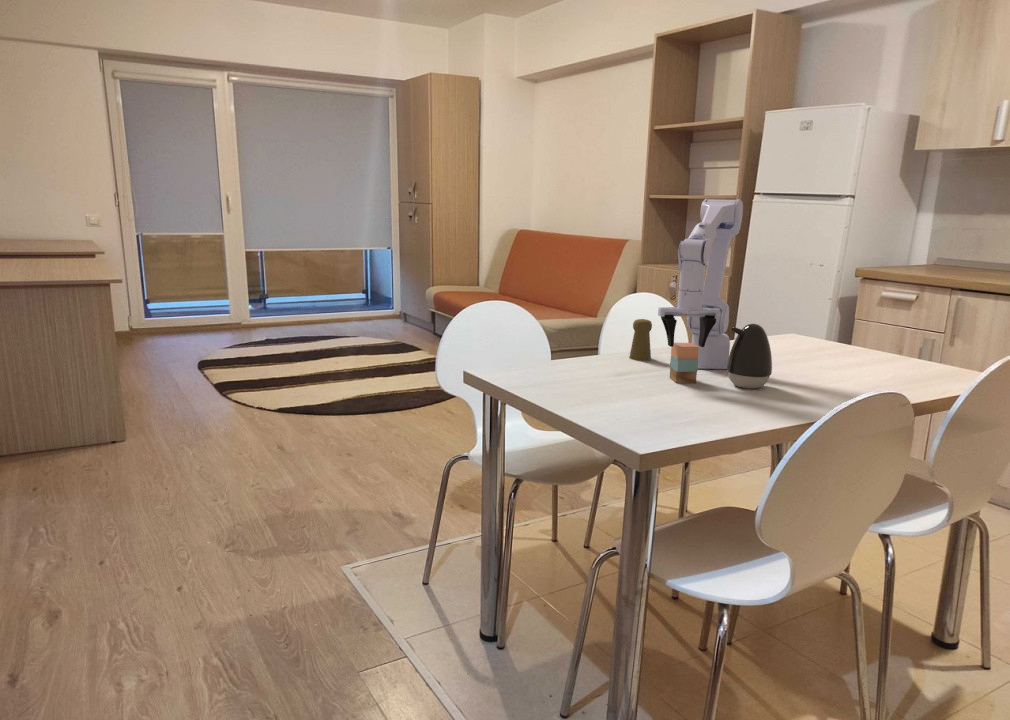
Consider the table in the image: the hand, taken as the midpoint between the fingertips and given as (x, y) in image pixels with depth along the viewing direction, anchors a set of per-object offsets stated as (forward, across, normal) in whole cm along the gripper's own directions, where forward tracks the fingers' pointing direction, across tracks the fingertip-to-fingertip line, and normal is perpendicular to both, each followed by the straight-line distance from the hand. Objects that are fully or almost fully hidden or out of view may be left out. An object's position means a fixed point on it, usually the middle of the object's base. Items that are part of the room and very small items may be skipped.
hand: (686, 346), depth 168 cm
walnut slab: (+9, 0, 0) cm, 9 cm away
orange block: (+3, 0, 0) cm, 3 cm away
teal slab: (+6, 0, 0) cm, 6 cm away
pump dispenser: (+9, +14, -5) cm, 17 cm away
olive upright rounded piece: (+9, -4, +25) cm, 27 cm away
